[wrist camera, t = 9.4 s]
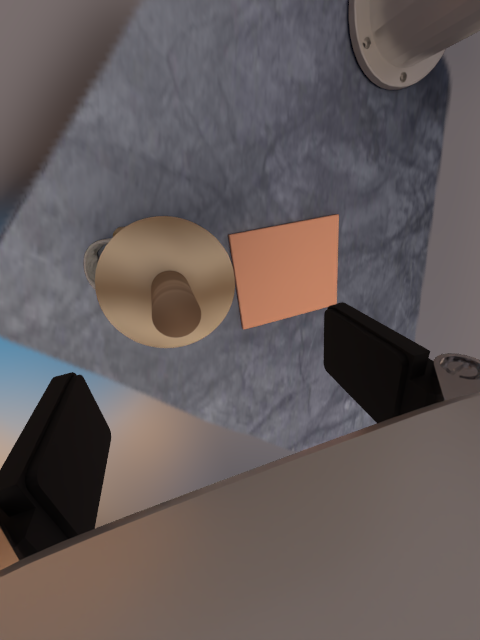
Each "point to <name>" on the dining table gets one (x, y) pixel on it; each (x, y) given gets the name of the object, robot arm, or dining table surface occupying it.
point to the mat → (285, 269)
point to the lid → (164, 282)
